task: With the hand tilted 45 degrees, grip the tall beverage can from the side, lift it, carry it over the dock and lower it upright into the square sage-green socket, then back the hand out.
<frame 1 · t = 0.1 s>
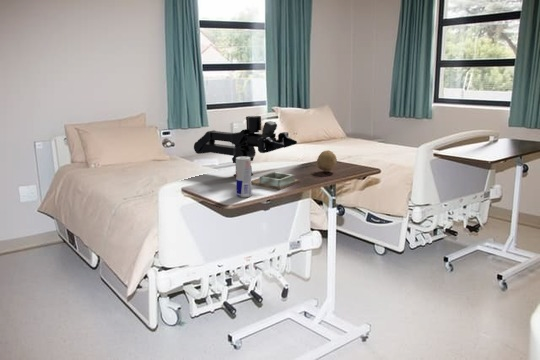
hand: (290, 144, 197), 17 cm above the table, tool horizontal, fingers open, 9 cm apart
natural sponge: (327, 172, 220), on the table
beverage can: (244, 196, 184), on the table
socket dock: (277, 184, 200), on the table
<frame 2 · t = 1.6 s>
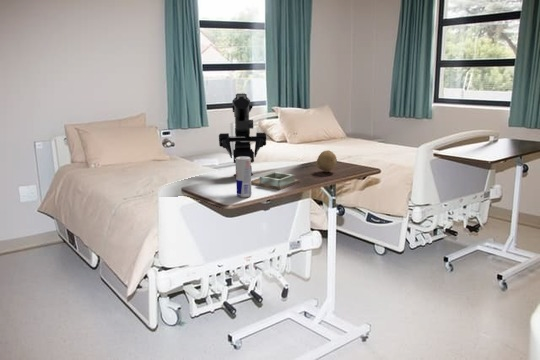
hand: (243, 157, 188), 13 cm above the table, tool tilted 45°, fingers open, 9 cm apart
nothing on the table moved.
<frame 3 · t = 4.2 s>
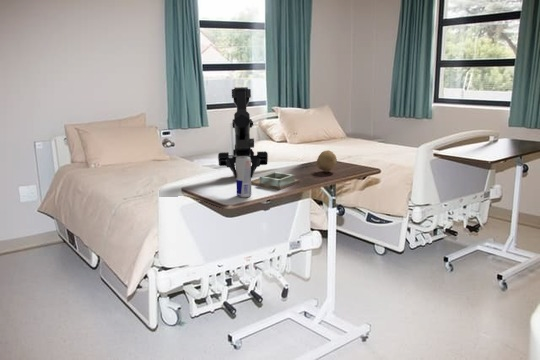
hand: (243, 177, 181), 8 cm above the table, tool tilted 45°, fingers closed on beverage can, 5 cm apart
beverage can: (244, 196, 184), on the table, touching gripper
everything else where it was.
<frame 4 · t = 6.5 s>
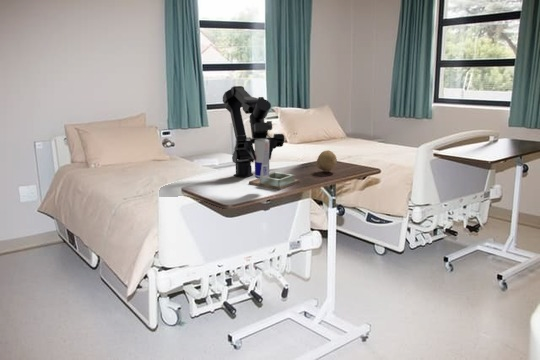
hand: (262, 159, 185), 13 cm above the table, tool tilted 45°, fingers closed on beverage can, 5 cm apart
beverage can: (262, 178, 188), point 5 cm above the table, touching gripper
everything else where it was.
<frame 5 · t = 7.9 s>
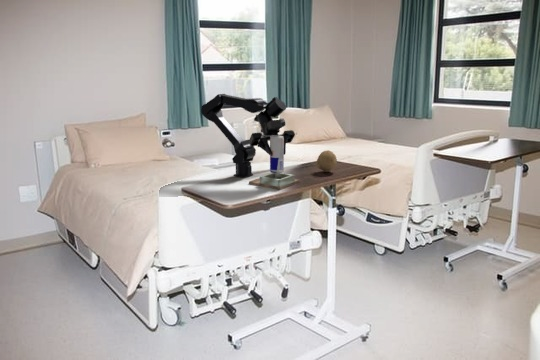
hand: (278, 154, 195), 13 cm above the table, tool tilted 45°, fingers closed on beverage can, 5 cm apart
beverage can: (276, 172, 198), point 5 cm above the table, touching gripper
everything else where it was.
when the fingers open (9 cm above the table, at t = 9.0 s): beverage can stays where it is, resting on socket dock.
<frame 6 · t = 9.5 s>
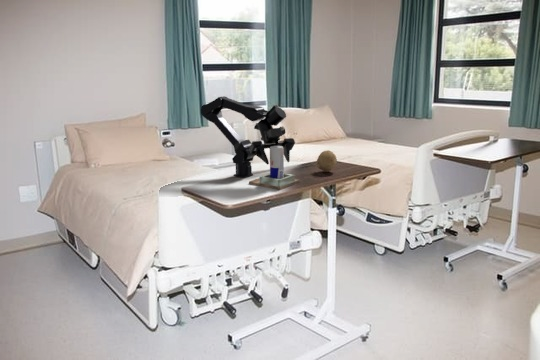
hand: (278, 162, 196), 10 cm above the table, tool tilted 45°, fingers open, 9 cm apart
beverage can: (277, 182, 200), point 1 cm above the table, touching socket dock
everything else where it was.
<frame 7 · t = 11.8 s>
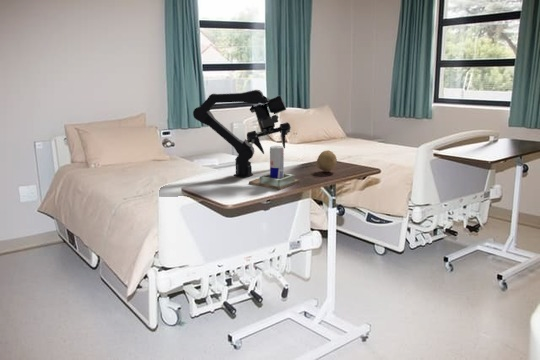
hand: (274, 150, 204), 13 cm above the table, tool tilted 35°, fingers open, 9 cm apart
nothing on the table moved.
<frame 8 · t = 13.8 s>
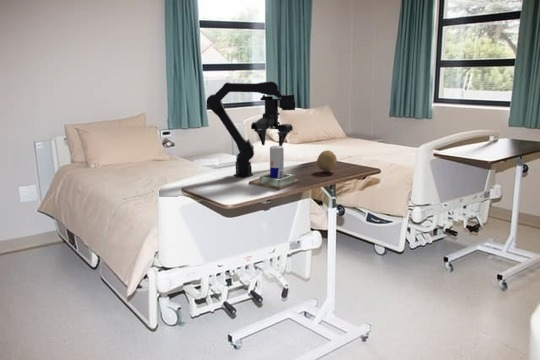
hand: (271, 146, 213), 13 cm above the table, tool pointing down, fingers open, 9 cm apart
nothing on the table moved.
at the end: beverage can 0.2 cm off-centre on the socket dock, point 0.8 cm above the socket dock's base; beverage can tilted 0°; the gripper is holding nothing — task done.
